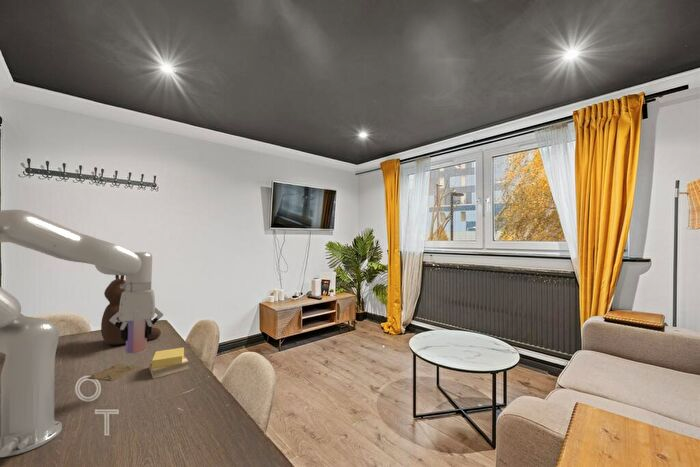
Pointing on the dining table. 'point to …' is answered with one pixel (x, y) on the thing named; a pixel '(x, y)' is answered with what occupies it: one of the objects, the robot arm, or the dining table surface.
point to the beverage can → (136, 335)
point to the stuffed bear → (108, 328)
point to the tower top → (168, 357)
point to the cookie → (114, 372)
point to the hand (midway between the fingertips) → (136, 338)
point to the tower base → (168, 368)
